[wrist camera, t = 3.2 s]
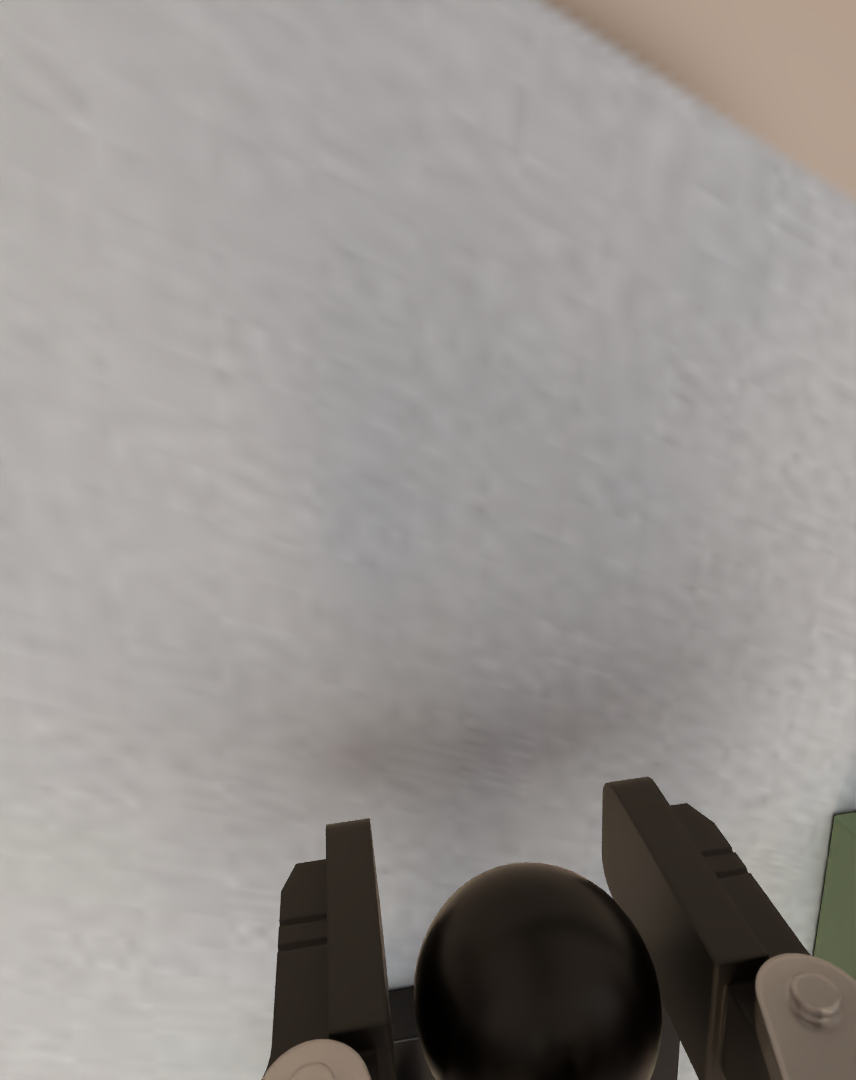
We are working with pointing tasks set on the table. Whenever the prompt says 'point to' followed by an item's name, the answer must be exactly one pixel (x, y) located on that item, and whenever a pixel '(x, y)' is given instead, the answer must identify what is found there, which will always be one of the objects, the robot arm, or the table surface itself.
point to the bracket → (418, 1076)
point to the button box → (839, 899)
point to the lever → (536, 982)
